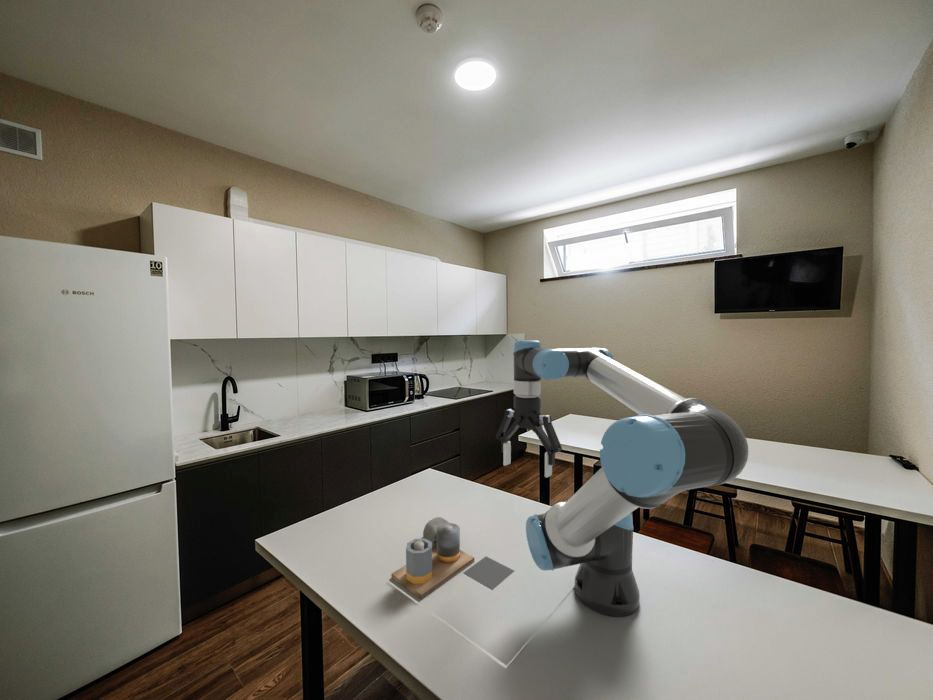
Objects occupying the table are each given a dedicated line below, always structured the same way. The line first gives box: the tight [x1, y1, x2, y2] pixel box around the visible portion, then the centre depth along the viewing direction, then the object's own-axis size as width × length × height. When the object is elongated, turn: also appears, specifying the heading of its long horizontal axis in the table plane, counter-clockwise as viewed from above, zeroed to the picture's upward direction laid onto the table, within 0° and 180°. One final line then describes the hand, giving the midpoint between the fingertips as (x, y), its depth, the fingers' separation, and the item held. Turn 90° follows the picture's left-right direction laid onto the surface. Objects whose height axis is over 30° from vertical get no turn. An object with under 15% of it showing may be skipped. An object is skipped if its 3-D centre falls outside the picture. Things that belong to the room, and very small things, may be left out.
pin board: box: [391, 522, 475, 600], centre depth 101 cm, size 12×20×10 cm, turn 139°
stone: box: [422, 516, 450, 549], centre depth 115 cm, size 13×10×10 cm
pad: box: [463, 556, 515, 591], centre depth 100 cm, size 10×10×1 cm
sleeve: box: [405, 538, 432, 584], centre depth 97 cm, size 7×7×8 cm
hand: (526, 470), depth 104 cm, fingers open, 13 cm apart
